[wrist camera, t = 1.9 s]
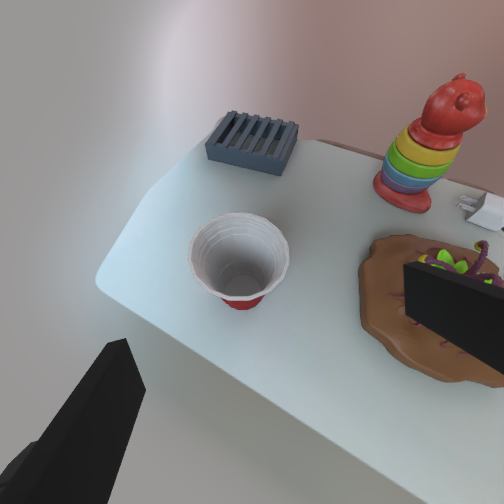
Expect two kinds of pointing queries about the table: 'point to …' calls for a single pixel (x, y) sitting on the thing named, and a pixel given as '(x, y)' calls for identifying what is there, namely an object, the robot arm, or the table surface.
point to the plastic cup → (238, 258)
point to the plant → (405, 328)
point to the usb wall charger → (485, 211)
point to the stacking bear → (430, 144)
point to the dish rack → (252, 142)
